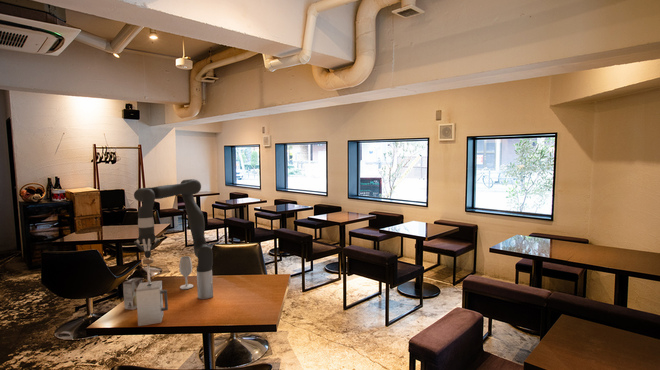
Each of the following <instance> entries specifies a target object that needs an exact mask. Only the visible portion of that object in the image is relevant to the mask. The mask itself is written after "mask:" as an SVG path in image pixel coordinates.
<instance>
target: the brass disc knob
mask: <svg viewBox="0 0 660 370" xmlns="http://www.w3.org/2000/svg"><path fill="white" fill-rule="evenodd" d="M153 263H154V257H150V258H146V257H145V258H143V259H142V265H146V268H147V269H146V270H147V271H146V272H147V282H148V286H151V283H150V282H151V269H150V267H151V266H150V264H153Z"/></svg>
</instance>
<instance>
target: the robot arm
mask: <svg viewBox="0 0 660 370" xmlns="http://www.w3.org/2000/svg"><path fill="white" fill-rule="evenodd" d="M201 190H202V184H201V182H200V181H199V180H198V179H195V178H192V179H183V180H182V181H180V183H175V184H165V185H158V186H152V187H142V188H137V189H136V190H135V191H134V193H133V197H134V199H135V201H138V202H142V205H141V206H139V207H138V209H137V218H138V219H137V227H138V228H137V229H138V238H137V239H136V240H134V242H133V244H134V245H135V246H136V248H138V249H139V250H140V251H142V252H143V251H144V257H145V258H151V256H152V250H155V248H156V247H157V245H158V244H159V243H160V241H161V239H160V238H157V237H156V235H155V221H154V212H153V211H154V206H155V200H160V199H166V198H171V197H175V196H179V195H181V197H182V199H183V203H184V206H185V211H186V214H187V215H186V216H187V221H188V226H189V230H190V234H191V237H192V242H193V253H194V255H195V257H196V258H197V266H196V282H197V283H196V287H197V288H196V289H197V298H198V299H199V300H206V299H207V300H208V299H211V298H214V283H213V264H214V254H213V249H212V247H211V246H209V245H207V241H206V237H205V229H206V222H205V217H204V212H203V211H202V210H201V207H199V206H198V204H197V202H196V200H195V197H194V195H197V194H198V193H199V192H200V191H201ZM140 243H141V244H140ZM153 243H154V244H153ZM152 244H153V245H152ZM142 245H143V246H142Z"/></svg>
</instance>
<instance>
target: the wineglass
mask: <svg viewBox="0 0 660 370" xmlns="http://www.w3.org/2000/svg"><path fill="white" fill-rule="evenodd" d="M178 267H179V273H180V275H182V276H183V277H184V278H185V279H184V280H185V284H182V285H180V286H179V289H181V290H189V289H192V288H193V287H194V284H192V283H188V277H189V276H190V275H191V273H192V272H193V263H192V258H191V256H189V255H186V256H181V257H180V259H179V265H178Z"/></svg>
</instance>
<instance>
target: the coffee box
mask: <svg viewBox="0 0 660 370" xmlns="http://www.w3.org/2000/svg"><path fill="white" fill-rule="evenodd" d="M140 283H144V278H143V277H133V278H130V279H127V280H125V281H124V282H122V290H123V292H122V293H123V303H124V304H123V306H124V310H136V309H137V296H136V289H137V287H138V285H139V284H140Z"/></svg>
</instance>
